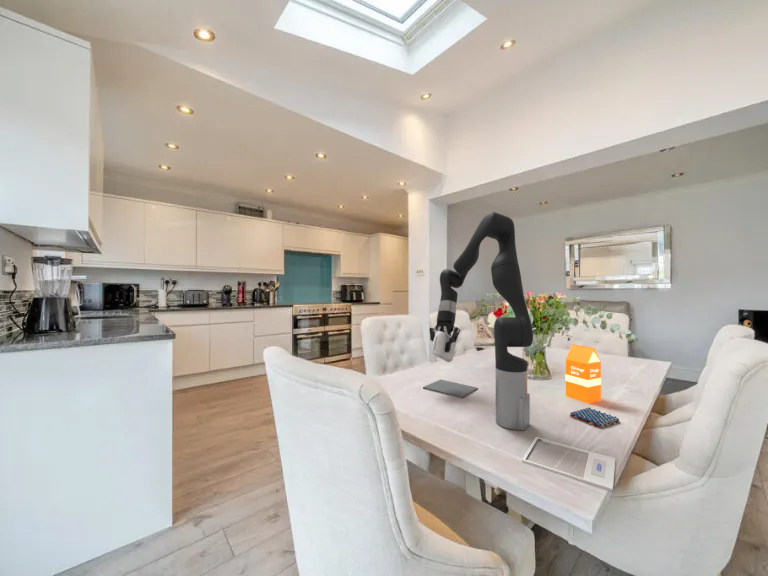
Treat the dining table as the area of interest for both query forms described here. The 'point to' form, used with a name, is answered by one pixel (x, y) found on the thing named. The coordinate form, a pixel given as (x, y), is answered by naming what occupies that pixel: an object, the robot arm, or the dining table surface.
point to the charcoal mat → (451, 388)
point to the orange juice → (583, 374)
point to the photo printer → (442, 347)
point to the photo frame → (595, 472)
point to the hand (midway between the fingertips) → (441, 351)
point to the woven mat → (594, 418)
